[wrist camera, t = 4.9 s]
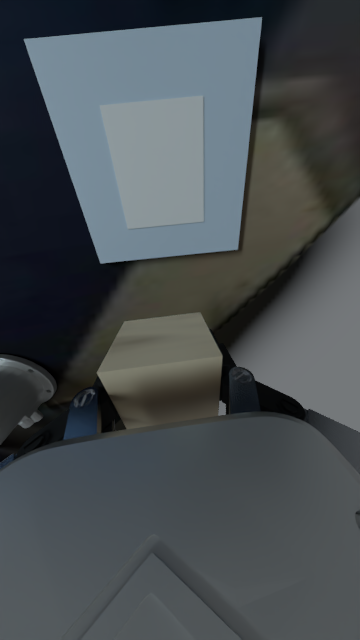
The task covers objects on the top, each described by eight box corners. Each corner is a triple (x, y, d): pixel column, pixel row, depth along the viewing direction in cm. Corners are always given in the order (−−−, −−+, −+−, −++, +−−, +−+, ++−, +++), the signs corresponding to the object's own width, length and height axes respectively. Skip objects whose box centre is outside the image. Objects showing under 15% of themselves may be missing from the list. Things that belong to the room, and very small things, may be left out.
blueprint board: (234, 249, 17) (238, 249, 16) (104, 262, 17) (100, 263, 16) (254, 36, 10) (262, 15, 9) (36, 56, 10) (22, 37, 9)
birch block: (201, 366, 14) (217, 421, 10) (141, 374, 14) (129, 434, 9) (200, 312, 11) (222, 355, 7) (124, 321, 11) (96, 372, 7)
